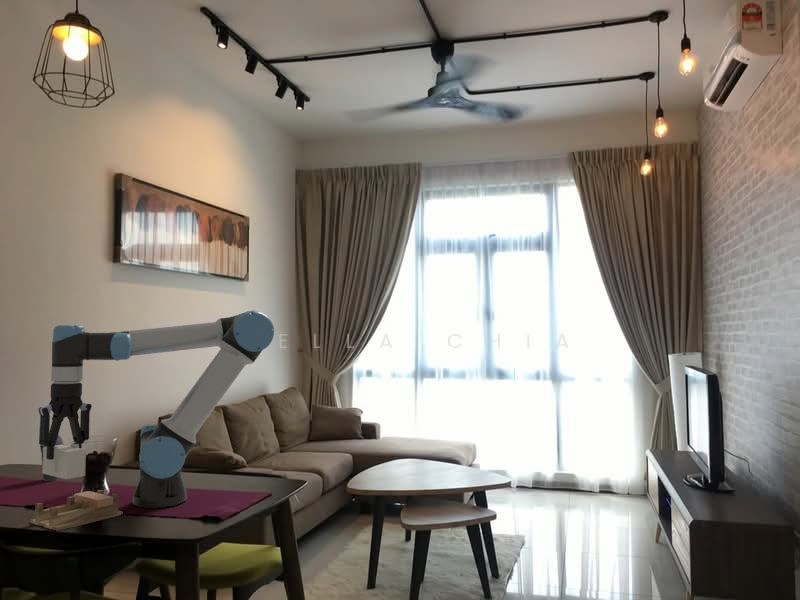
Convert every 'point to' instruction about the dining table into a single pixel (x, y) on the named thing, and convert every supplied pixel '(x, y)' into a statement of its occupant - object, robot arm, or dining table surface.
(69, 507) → the oak rack
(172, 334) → the robot arm
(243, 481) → the dining table surface
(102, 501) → the terracotta strip
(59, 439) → the beverage cup
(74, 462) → the white rectangular block
